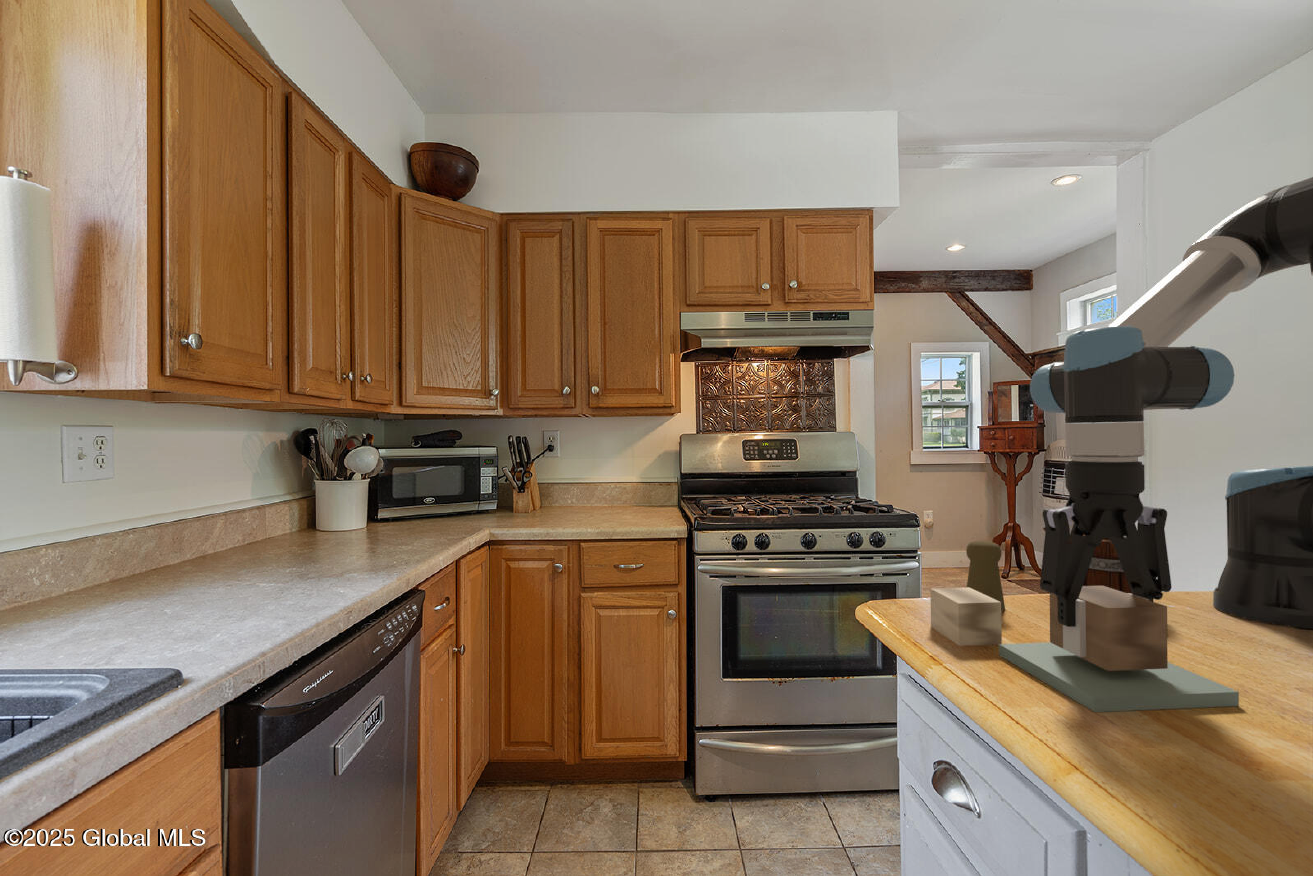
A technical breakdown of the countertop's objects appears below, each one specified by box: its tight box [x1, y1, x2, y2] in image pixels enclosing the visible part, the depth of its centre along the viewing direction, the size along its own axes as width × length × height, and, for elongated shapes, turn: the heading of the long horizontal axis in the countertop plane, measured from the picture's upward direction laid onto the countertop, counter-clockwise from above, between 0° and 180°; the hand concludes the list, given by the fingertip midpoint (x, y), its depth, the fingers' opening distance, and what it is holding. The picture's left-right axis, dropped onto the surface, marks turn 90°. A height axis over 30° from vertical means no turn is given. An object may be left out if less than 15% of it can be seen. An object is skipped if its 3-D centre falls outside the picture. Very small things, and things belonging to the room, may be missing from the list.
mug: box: [1042, 527, 1134, 594], centre depth 99 cm, size 12×14×15 cm
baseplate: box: [998, 641, 1240, 713], centre depth 71 cm, size 16×16×2 cm
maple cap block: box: [929, 586, 1003, 647], centre depth 86 cm, size 6×8×6 cm
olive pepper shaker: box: [965, 540, 1006, 613], centre depth 100 cm, size 6×6×11 cm
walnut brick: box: [1049, 586, 1169, 671], centre depth 71 cm, size 7×9×7 cm
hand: (1105, 651), depth 71 cm, fingers closed on walnut brick, 7 cm apart
